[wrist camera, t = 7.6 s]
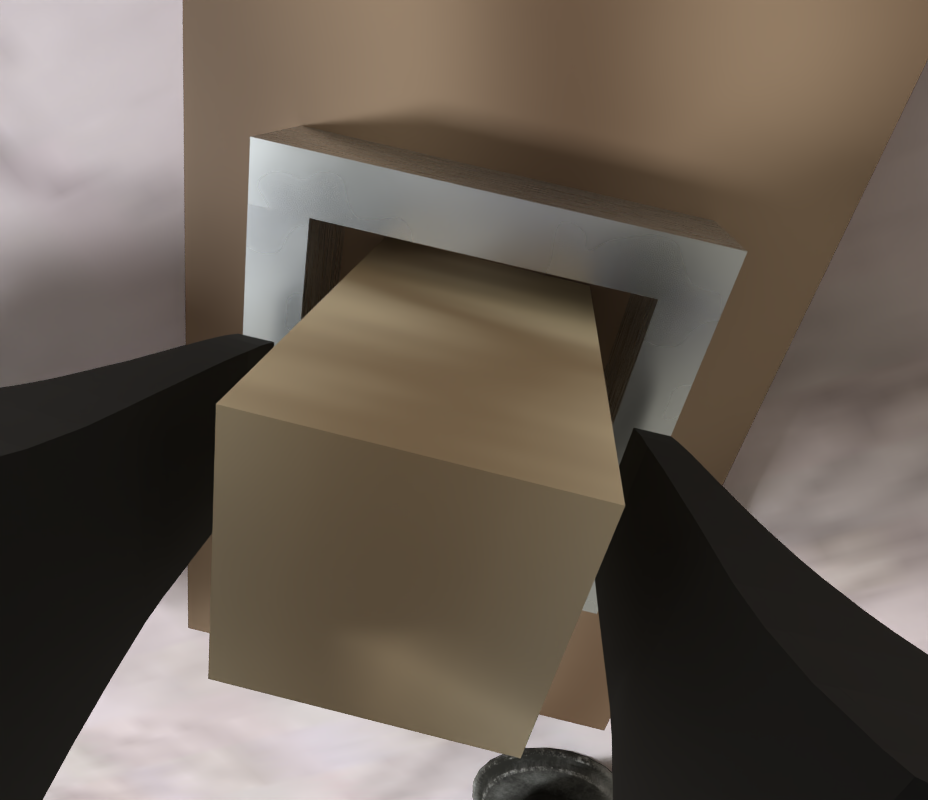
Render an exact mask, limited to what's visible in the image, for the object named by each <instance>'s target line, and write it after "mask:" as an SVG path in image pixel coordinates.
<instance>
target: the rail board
mask: <svg viewBox="0 0 928 800" xmlns="http://www.w3.org/2000/svg"><path fill="white" fill-rule="evenodd" d="M927 60H928V0H183V90H184V202H185V313H186V345H188V344H191V343H195V342H199V341H203V340H207V339H211V338H215V337H219V336H224V335H230V334H242V335H243V318H244V291H245V264H246V237H247V210H248V183H249V156H250V137H251V136H255V135H260V134H264V133H269V132H274V131H278V130H283V129H287V128H292V127H297V126H301V125H302V126H306V127H310V128H315V129H319V130H323V131H328V132H332V133H336V134H341V135H345V136H349V137H354V138H358V139H362V140H367V141H371V142H375V143H380V144H384V145H388V146H393V147H397V148H401V149H406V150H410V151H414V152H419V153H423V154H427V155H432V156H436V157H440V158H445V159H449V160H453V161H458V162H462V163H466V164H471V165H475V166H479V167H484V168H488V169H492V170H497V171H501V172H505V173H510V174H514V175H518V176H523V177H527V178H531V179H536V180H540V181H544V182H549V183H553V184H557V185H562V186H566V187H570V188H575V189H579V190H583V191H588V192H592V193H596V194H601V195H605V196H609V197H614V198H618V199H622V200H627V201H631V202H635V203H640V204H644V205H648V206H653V207H657V208H661V209H666V210H670V211H674V212H679V213H683V214H687V215H692V216H696V217H700V218H705V219H709V220H713V221H715V222H717V223H718V224H719V225H720V226H721V227H722V228H723V229H724V230H725V231H726V232H727V233H728V234H729V235H730V236H731V237H732V238H734V239H735V240H736V241H737V242H738V243H739V244H740V245H741V246H742V247H743V248H744V249H745V250H746V251H747V254H746V257H745V259H744V261H743V264H742V266H741V269H740V271H739V273H738V276H737V278H736V281H735V283H734V285H733V288H732V290H731V293H730V295H729V297H728V300H727V302H726V305H725V307H724V309H723V312H722V314H721V317H720V319H719V321H718V324H717V326H716V329H715V331H714V333H713V336H712V338H711V341H710V343H709V345H708V348H707V350H706V353H705V355H704V357H703V360H702V362H701V365H700V367H699V369H698V372H697V374H696V377H695V379H694V382H693V384H692V386H691V389H690V391H689V394H688V396H687V398H686V401H685V403H684V406H683V408H682V410H681V413H680V415H679V418H678V420H677V422H676V425H675V427H674V430H673V432H672V434H671V437H673V438H674V439H675V440H676V441H678V442H679V443H680V444H681V445H682V446H683V447H684V448H685V449H686V450H688V451H689V452H690V453H691V454H692V455H693V456H694V457H695V458H696V459H697V460H698V461H699V462H700V463H701V464H702V466H703V467H704V468H705V469H706V470H707V471H708V472H709V473H710V474H711V475H712V476H713V477H714V478H715V479H716V480H717V481H718V482H719V483H720V484H721V485H723V483H724V481H725V479H726V477H727V475H728V473H729V470H730V468H731V466H732V464H733V462H734V460H735V458H736V456H737V454H738V452H739V450H740V448H741V446H742V443H743V441H744V439H745V437H746V435H747V433H748V431H749V429H750V427H751V425H752V423H753V421H754V419H755V417H756V414H757V412H758V410H759V408H760V406H761V404H762V402H763V400H764V398H765V396H766V394H767V392H768V390H769V387H770V385H771V383H772V381H773V379H774V377H775V375H776V373H777V371H778V369H779V367H780V365H781V363H782V361H783V358H784V356H785V354H786V352H787V350H788V348H789V346H790V344H791V342H792V340H793V338H794V336H795V334H796V331H797V329H798V327H799V325H800V323H801V321H802V319H803V317H804V315H805V313H806V311H807V309H808V307H809V305H810V302H811V300H812V298H813V296H814V294H815V292H816V290H817V288H818V286H819V284H820V282H821V280H822V278H823V276H824V273H825V271H826V269H827V267H828V265H829V263H830V261H831V259H832V257H833V255H834V253H835V251H836V249H837V246H838V244H839V242H840V240H841V238H842V236H843V234H844V232H845V230H846V228H847V226H848V224H849V222H850V220H851V217H852V215H853V213H854V211H855V209H856V207H857V205H858V203H859V201H860V199H861V197H862V195H863V193H864V190H865V188H866V186H867V184H868V182H869V180H870V178H871V176H872V174H873V172H874V170H875V168H876V166H877V164H878V161H879V159H880V157H881V155H882V153H883V151H884V149H885V147H886V145H887V143H888V141H889V139H890V137H891V134H892V132H893V130H894V128H895V126H896V124H897V122H898V120H899V118H900V116H901V114H902V112H903V110H904V108H905V105H906V103H907V101H908V99H909V97H910V95H911V93H912V91H913V89H914V87H915V85H916V83H917V81H918V79H919V76H920V74H921V72H922V70H923V68H924V66H925V64H926V62H927ZM385 237H386V236H384V235H380V234H376V233H372V232H367V231H363V230H359V229H354V228H350V227H346V226H345V235H344V244H343V253H342V262H341V271H340V280H339V282H340V281H341V280H342V279H343V278H344V277H345V276H346V275H347V274H348V273H349V272H350V271H351V270H352V269H353V268H354V267H356V266H357V265H358V264H359V263H360V262H361V261H362V260H363V259H364V258H365V257H366V256H367V255H368V254H369V253H370V252H371V251H372V250H373V249H374V248H375V247H376V246H377V245H378V244H379V243H380V242H381V241H382V240H383V239H384V238H385ZM388 237H389V236H388ZM392 238H393V237H392ZM396 239H397V238H396ZM400 240H401V239H400ZM404 241H406V240H404ZM408 242H410V241H408ZM412 243H414V242H412ZM416 244H419V243H416ZM420 245H423V244H420ZM425 246H427V245H425ZM429 247H431V246H429ZM433 248H436V247H433ZM437 249H440V248H437ZM441 250H444V249H441ZM445 251H449V250H445ZM449 252H453V251H449ZM453 253H457V252H453ZM457 254H461V253H457ZM461 255H466V254H461ZM466 256H470V255H466ZM470 257H474V256H470ZM474 258H478V259H482V260H486V261H490V262H494V263H498V264H502V265H506V266H511V267H515V268H519V269H523V270H527V271H531V272H535V273H539V274H543V275H547V276H552V277H556V278H560V279H564V280H568V281H572V282H576V283H580V284H584V285H588V286H590V291H591V297H592V303H593V310H594V316H595V322H596V328H597V334H598V341H599V347H600V353H601V359H602V365H603V371H605V368H606V365H607V362H608V360H609V357H610V354H611V351H612V348H613V345H614V342H615V339H616V336H617V333H618V330H619V327H620V324H621V321H622V318H623V315H624V312H625V309H626V306H627V303H628V300H629V298H630V295H631V293H628V292H624V291H620V290H616V289H611V288H607V287H603V286H599V285H594V284H590V283H586V282H581V281H577V280H573V279H569V278H564V277H560V276H556V275H551V274H547V273H543V272H539V271H534V270H530V269H526V268H521V267H517V266H513V265H509V264H504V263H500V262H496V261H491V260H487V259H483V258H479V257H474ZM211 566H212V534H211V535H210V537H209V538H208V539H207V541H206V542H205V543H204V545H203V546H202V547H201V548H200V550H199V551H198V552H197V554H196V555H195V556H194V557H193V559H192V560H191V561H190V563H189V564H188V628H191V629H195V630H199V631H203V632H207V633H210V602H211ZM539 714H540V715H544V716H548V717H552V718H556V719H560V720H564V721H568V722H572V723H576V724H580V725H584V726H588V727H592V728H596V729H601V730H605V728H606V725H607V723H608V721H609V719H610V705H609V697H608V688H607V680H606V672H605V664H604V655H603V647H602V639H601V631H600V622H599V613H598V612H597V614H595V613H591V612H587V611H583V610H582V611H581V614H580V616H579V619H578V621H577V623H576V626H575V628H574V631H573V633H572V635H571V638H570V640H569V643H568V645H567V647H566V650H565V652H564V655H563V657H562V660H561V662H560V664H559V667H558V669H557V672H556V674H555V676H554V679H553V681H552V684H551V686H550V688H549V691H548V693H547V696H546V698H545V701H544V703H543V705H542V708H541V710H540V713H539Z"/></svg>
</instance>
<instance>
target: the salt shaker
mask: <svg viewBox="0 0 928 800" xmlns="http://www.w3.org/2000/svg"><path fill="white" fill-rule="evenodd" d="M472 797H473V800H613V779H612V773H611V772H610V771H609V770H608V769H607V768H606V767H604V766H603V765H601V764H599V763H597V762H595V761H593V760H591V759H590V758H588V757H585V756H582V755H578V754H575V753H572V752H569V751H564V750H556V749H549V748H533V749H524V751H523V754H522V756H521V758H517V757H513V756H510V755H506V754H503V755H501V756H498V757H496V758H494V759H492V760H490V761H489V762H488V763H487V764H486V765H484V766H483V767H482V768H481V769H480V770H479V772H478V774H477V776H476V777H475V779H474V782H473V795H472Z"/></svg>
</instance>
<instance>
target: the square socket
mask: <svg viewBox="0 0 928 800" xmlns="http://www.w3.org/2000/svg"><path fill="white" fill-rule="evenodd" d="M345 226H346V227H350V228H354V229H359V230H363V231H367V232H372V233H376V234H380V235H384V236H389V237H393V238H397V239H401V240H406V241H410V242H414V243H419V244H423V245H427V246H431V247H436V248H440V249H444V250H449V251H453V252H457V253H461V254H466V255H470V256H474V257H479V258H483V259H487V260H491V261H496V262H500V263H504V264H509V265H513V266H517V267H521V268H526V269H530V270H534V271H539V272H543V273H547V274H551V275H556V276H560V277H564V278H569V279H573V280H577V281H581V282H586V283H590V284H594V285H599V286H603V287H607V288H611V289H616V290H620V291H624V292H628V293H631V295H630V298H629V300H628V303H627V306H626V309H625V312H624V315H623V318H622V321H621V324H620V327H619V330H618V333H617V336H616V339H615V342H614V345H613V348H612V351H611V354H610V357H609V360H608V362H607V365H606V368H605V371H604V378H605V384H606V390H607V396H608V402H609V408H610V415H611V421H612V427H613V433H614V439H615V446H616V452H617V458H618V464H619V465H620V462H621V460H622V457H623V454H624V452H625V449H626V446H627V444H628V441H629V438H630V436H631V433H632V431H633V428H638V429H642V430H647V431H651V432H655V433H659V434H664V435H668V436H671V434H672V432H673V430H674V427H675V425H676V422H677V420H678V418H679V415H680V413H681V410H682V408H683V406H684V403H685V401H686V398H687V396H688V394H689V391H690V389H691V386H692V384H693V382H694V379H695V377H696V374H697V372H698V369H699V367H700V365H701V362H702V360H703V357H704V355H705V353H706V350H707V348H708V345H709V343H710V341H711V338H712V336H713V333H714V331H715V329H716V326H717V324H718V321H719V319H720V317H721V314H722V312H723V309H724V307H725V305H726V302H727V300H728V297H729V295H730V293H731V290H732V288H733V285H734V283H735V281H736V278H737V276H738V273H739V271H740V269H741V266H742V264H743V261H744V259H745V257H746V254H747V251H746V250H745V249H744V248H743V247H742V246H741V245H740V244H739V243H738V242H737V241H736V240H735V239H734V238H732V237H731V236H730V235H729V234H728V233H727V232H726V231H725V230H724V229H723V228H722V227H721V226H720V225H719V224H718V223H717V222H715V221H713V220H709V219H705V218H700V217H696V216H692V215H687V214H683V213H679V212H674V211H670V210H666V209H661V208H657V207H653V206H648V205H644V204H640V203H635V202H631V201H627V200H622V199H618V198H614V197H609V196H605V195H601V194H596V193H592V192H588V191H583V190H579V189H575V188H570V187H566V186H562V185H557V184H553V183H549V182H544V181H540V180H536V179H531V178H527V177H523V176H518V175H514V174H510V173H505V172H501V171H497V170H492V169H488V168H484V167H479V166H475V165H471V164H466V163H462V162H458V161H453V160H449V159H445V158H440V157H436V156H432V155H427V154H423V153H419V152H414V151H410V150H406V149H401V148H397V147H393V146H388V145H384V144H380V143H375V142H371V141H367V140H362V139H358V138H354V137H349V136H345V135H341V134H336V133H332V132H328V131H323V130H319V129H315V128H310V127H306V126H302V125H301V126H297V127H292V128H287V129H283V130H278V131H274V132H269V133H264V134H260V135H255V136H251V137H250V156H249V183H248V210H247V237H246V264H245V291H244V318H243V335H247V336H251V337H255V338H259V339H263V340H268V341H272V342H274V346H275V345H276V344H277V343H278V342H279V341H280V340H281V339H282V338H283V337H284V336H285V335H286V334H288V333H289V332H290V331H291V330H292V329H293V328H294V327H295V326H296V325H297V324H298V323H299V322H300V321H301V320H302V319H303V318H304V317H305V316H306V315H307V314H308V313H309V312H310V311H311V310H312V309H313V308H314V307H315V306H316V305H317V304H318V303H319V302H320V301H321V300H322V299H323V298H324V297H325V296H326V295H327V294H328V293H329V292H330V291H331V290H332V289H333V288H334V287H335V286H336V285H337V284H338V283H339V280H340V271H341V262H342V253H343V244H344V235H345ZM582 610H583V611H587V612H591V613H595V614H597V612H598V604H597V596H596V586H595V580H594V582H593V585H592V587H591V590H590V592H589V594H588V597H587V599H586V602H585V604H584V606H583V609H582Z"/></svg>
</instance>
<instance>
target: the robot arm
mask: <svg viewBox="0 0 928 800" xmlns="http://www.w3.org/2000/svg"><path fill="white" fill-rule="evenodd" d="M273 347H274V342H272V341H268V340H263V339H259V338H255V337H251V336H247V335H242V334H230V335H224V336H219V337H215V338H211V339H207V340H203V341H199V342H195V343H191V344H188V345H184V346H181V347H177V348H173V349H170V350H166V351H162V352H159V353H155V354H151V355H148V356H144V357H141V358H137V359H133V360H130V361H126V362H121V363H117V364H113V365H109V366H105V367H100V368H96V369H92V370H88V371H84V372H79V373H75V374H71V375H67V376H63V377H58V378H53V379H48V380H43V381H38V382H32V383H27V384H22V385H15V386H9V387H3V388H0V800H43V798H44V796H45V794H46V792H47V791H48V789H49V787H50V785H51V783H52V782H53V780H54V778H55V776H56V774H57V772H58V771H59V769H60V767H61V765H62V763H63V761H64V760H65V758H66V756H67V754H68V752H69V750H70V749H71V747H72V745H73V743H74V741H75V740H76V738H77V736H78V735H79V733H80V731H81V729H82V728H83V726H84V724H85V722H86V721H87V719H88V717H89V716H90V714H91V712H92V710H93V709H94V707H95V705H96V704H97V702H98V700H99V698H100V697H101V695H102V693H103V691H104V690H105V688H106V686H107V685H108V683H109V681H110V679H111V678H112V676H113V674H114V673H115V671H116V670H117V668H118V666H119V665H120V663H121V661H122V660H123V658H124V656H125V655H126V653H127V652H128V650H129V648H130V647H131V645H132V643H133V642H134V640H135V638H136V637H137V635H138V634H139V632H140V630H141V629H142V627H143V625H144V624H145V622H146V621H147V619H148V618H149V616H150V615H151V614H152V612H153V611H154V609H155V608H156V606H157V605H158V604H159V602H160V601H161V599H162V598H163V596H164V595H165V594H166V593H167V591H168V590H169V589H170V587H171V586H172V585H173V583H174V582H175V581H176V580H177V578H178V577H179V576H180V574H181V573H182V572H183V570H184V569H185V568H186V567H187V565H188V564H189V563H190V561H191V560H192V559H193V557H194V556H195V555H196V554H197V552H198V551H199V550H200V548H201V547H202V546H203V545H204V543H205V542H206V541H207V539H208V538H209V537H210V535H211V534H212V530H213V494H214V458H215V422H216V403H217V402H218V401H220V400H221V399H222V398H223V397H224V396H225V395H226V394H227V393H228V392H229V391H230V390H231V389H232V388H233V387H234V386H235V385H236V384H237V383H238V382H239V381H240V380H241V379H242V378H243V377H244V376H245V375H246V374H247V373H248V372H249V371H250V370H251V369H252V368H253V367H254V366H255V365H256V364H257V363H258V362H259V361H260V360H261V359H262V358H263V357H264V356H265V355H266V354H267V353H268V352H269V351H270V350H271V349H272V348H273ZM619 470H620V476H621V483H622V489H623V495H624V501H625V508H624V510H623V512H622V515H621V517H620V520H619V522H618V524H617V527H616V529H615V532H614V534H613V536H612V539H611V541H610V544H609V546H608V549H607V551H606V553H605V556H604V558H603V561H602V563H601V565H600V568H599V570H598V573H597V575H596V577H595V586H596V596H597V604H598V613H599V622H600V631H601V639H602V647H603V655H604V664H605V672H606V680H607V688H608V697H609V705H610V718H611V731H612V779H613V800H928V654H926V653H925V652H923V651H922V650H920V649H919V648H917V647H916V646H914V645H913V644H911V643H910V642H908V641H907V640H905V639H904V638H902V637H901V636H899V635H898V634H896V633H895V632H893V631H892V630H891V629H889V628H888V627H886V626H885V625H884V624H882V623H881V622H879V621H878V620H877V619H875V618H874V617H872V616H871V615H870V614H868V613H867V612H865V611H864V610H863V609H861V608H860V607H859V606H858V605H856V604H855V603H854V602H852V601H851V600H850V599H849V598H847V597H846V596H845V595H843V594H842V593H841V592H840V591H838V590H837V589H836V588H834V587H833V586H832V585H831V584H829V583H828V582H827V581H825V580H824V579H823V578H822V577H820V576H819V575H818V574H817V573H816V572H814V571H813V570H812V569H811V568H810V567H808V566H807V565H806V564H805V563H804V562H802V561H801V560H800V559H799V558H798V557H797V556H796V555H794V554H793V553H792V552H791V551H790V550H789V549H788V548H787V547H786V546H784V545H783V544H782V543H781V542H780V541H779V540H778V539H777V538H776V537H774V536H773V535H772V534H771V533H770V532H769V531H768V530H767V529H766V528H765V527H764V526H763V525H761V524H760V523H759V522H758V521H757V520H756V519H755V518H754V517H753V516H752V515H751V514H750V513H749V512H748V511H747V510H746V509H745V508H744V507H743V506H742V505H741V504H740V503H739V502H738V501H737V500H736V499H735V498H734V497H733V496H732V495H731V494H730V493H729V492H728V491H727V490H726V489H725V488H724V487H723V486H722V485H721V484H720V483H719V482H718V481H717V480H716V479H715V478H714V477H713V476H712V475H711V474H710V473H709V472H708V471H707V470H706V469H705V468H704V467H703V466H702V464H701V463H700V462H699V461H698V460H697V459H696V458H695V457H694V456H693V455H692V454H691V453H690V452H689V451H688V450H686V449H685V448H684V447H683V446H682V445H681V444H680V443H679V442H678V441H676V440H675V439H674V438H673V437H671V436H668V435H664V434H659V433H655V432H651V431H647V430H642V429H638V428H633V431H632V433H631V436H630V438H629V441H628V444H627V446H626V449H625V452H624V454H623V457H622V460H621V462H620V465H619Z"/></svg>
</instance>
